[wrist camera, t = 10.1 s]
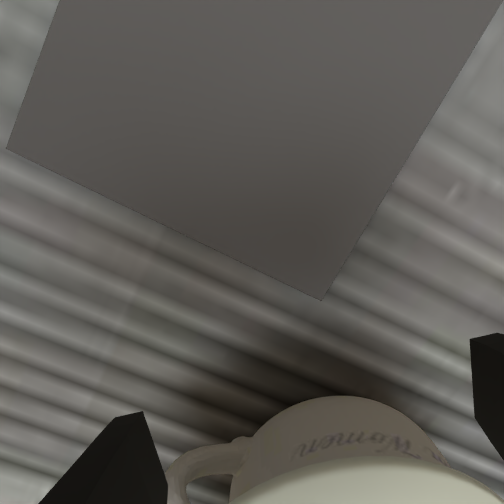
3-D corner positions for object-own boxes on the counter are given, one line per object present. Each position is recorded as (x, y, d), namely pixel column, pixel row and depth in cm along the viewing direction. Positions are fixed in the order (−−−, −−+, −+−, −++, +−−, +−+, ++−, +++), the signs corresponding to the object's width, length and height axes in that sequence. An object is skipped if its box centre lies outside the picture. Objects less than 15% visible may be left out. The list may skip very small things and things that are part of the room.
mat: (11, 148, 17) (5, 148, 16) (161, -263, 13) (159, -275, 13) (319, 297, 19) (321, 301, 19) (507, -15, 16) (514, -19, 16)
